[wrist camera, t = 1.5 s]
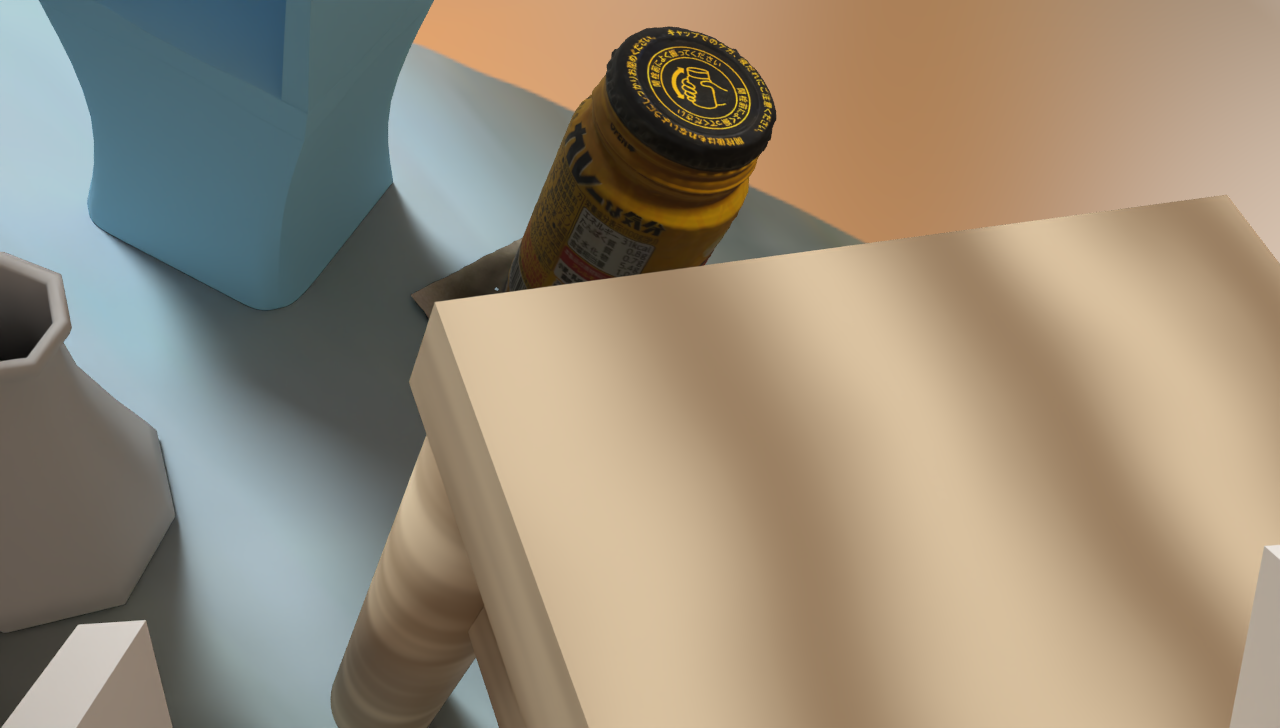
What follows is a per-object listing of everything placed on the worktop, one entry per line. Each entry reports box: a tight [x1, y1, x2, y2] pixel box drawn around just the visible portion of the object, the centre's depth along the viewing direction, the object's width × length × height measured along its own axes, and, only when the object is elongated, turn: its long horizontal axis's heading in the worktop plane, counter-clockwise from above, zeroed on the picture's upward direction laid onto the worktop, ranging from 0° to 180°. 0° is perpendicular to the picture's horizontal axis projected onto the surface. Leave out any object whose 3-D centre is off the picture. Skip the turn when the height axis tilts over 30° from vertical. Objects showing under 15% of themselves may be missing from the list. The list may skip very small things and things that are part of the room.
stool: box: [331, 195, 1280, 728], centre depth 25 cm, size 20×14×18 cm
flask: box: [0, 252, 176, 633], centre depth 26 cm, size 7×7×10 cm
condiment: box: [411, 27, 776, 318], centre depth 35 cm, size 7×8×12 cm
